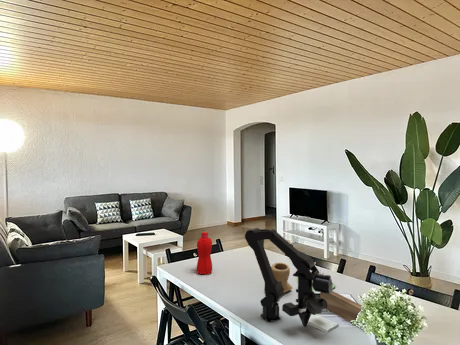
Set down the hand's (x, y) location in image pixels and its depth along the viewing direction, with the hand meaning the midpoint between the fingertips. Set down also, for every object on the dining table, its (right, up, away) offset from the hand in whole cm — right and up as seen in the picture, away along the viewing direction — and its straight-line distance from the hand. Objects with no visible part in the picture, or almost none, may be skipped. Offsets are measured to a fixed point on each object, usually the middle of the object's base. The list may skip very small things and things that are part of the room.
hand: (304, 326), depth 123 cm
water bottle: (-46, 0, +66) cm, 80 cm away
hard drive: (+7, -1, +4) cm, 8 cm away
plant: (+17, -1, +48) cm, 51 cm away
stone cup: (-4, 0, +36) cm, 36 cm away
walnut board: (+19, -1, +9) cm, 22 cm away
